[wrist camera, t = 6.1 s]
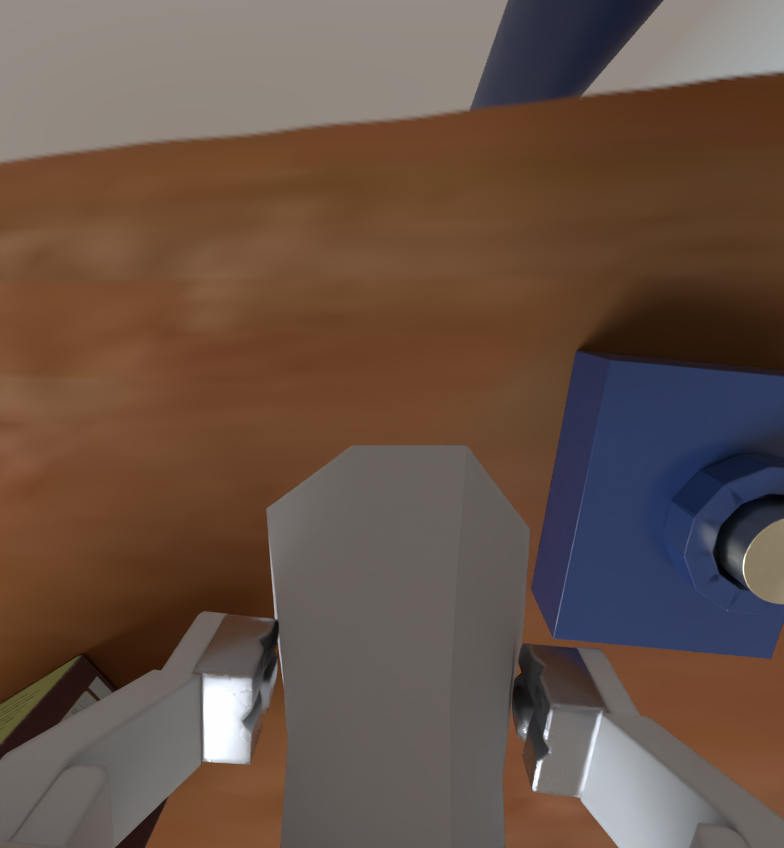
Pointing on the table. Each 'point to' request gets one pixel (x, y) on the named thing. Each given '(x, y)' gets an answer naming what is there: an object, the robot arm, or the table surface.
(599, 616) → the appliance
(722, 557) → the button
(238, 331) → the table surface
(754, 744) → the table surface
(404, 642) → the flask
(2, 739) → the protein box
